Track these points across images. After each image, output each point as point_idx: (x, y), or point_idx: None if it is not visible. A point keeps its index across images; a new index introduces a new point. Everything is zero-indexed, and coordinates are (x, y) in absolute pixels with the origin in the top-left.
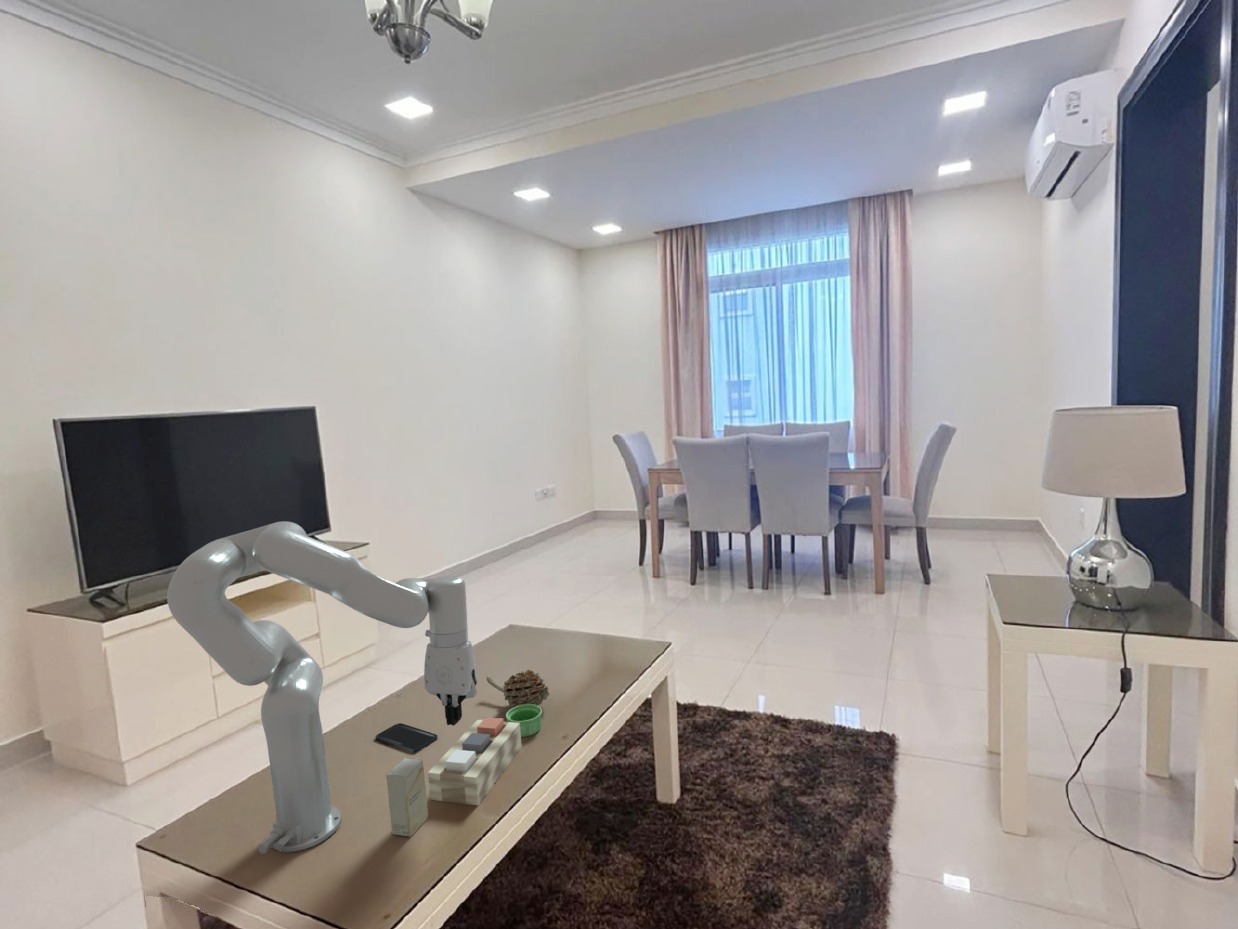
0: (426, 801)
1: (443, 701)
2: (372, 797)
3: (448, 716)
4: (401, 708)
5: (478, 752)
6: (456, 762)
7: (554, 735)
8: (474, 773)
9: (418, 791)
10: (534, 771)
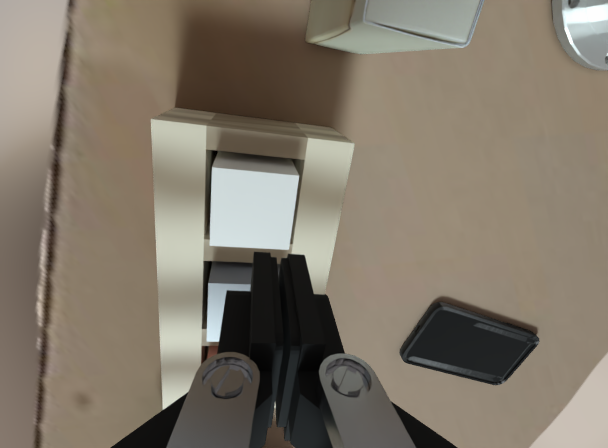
0: (315, 34)
1: (365, 396)
2: (491, 130)
3: (294, 288)
4: (505, 425)
5: (222, 267)
6: (250, 171)
7: (114, 401)
8: (171, 145)
9: None
10: (85, 269)
